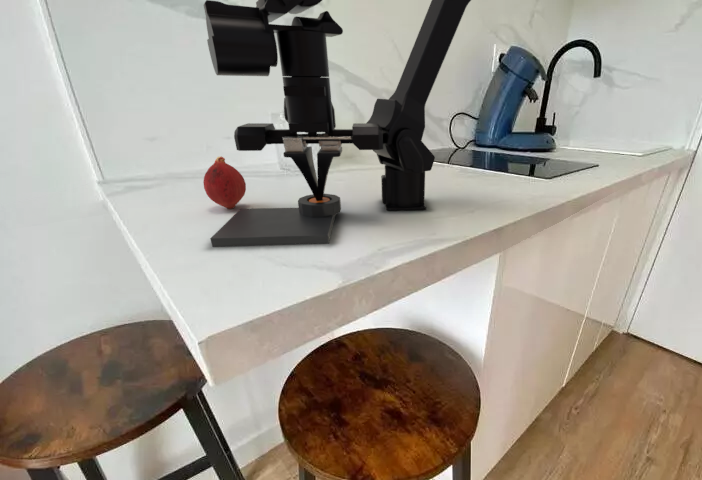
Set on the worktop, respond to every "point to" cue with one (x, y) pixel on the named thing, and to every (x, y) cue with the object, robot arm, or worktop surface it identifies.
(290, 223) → the scale
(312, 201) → the button
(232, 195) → the onion
